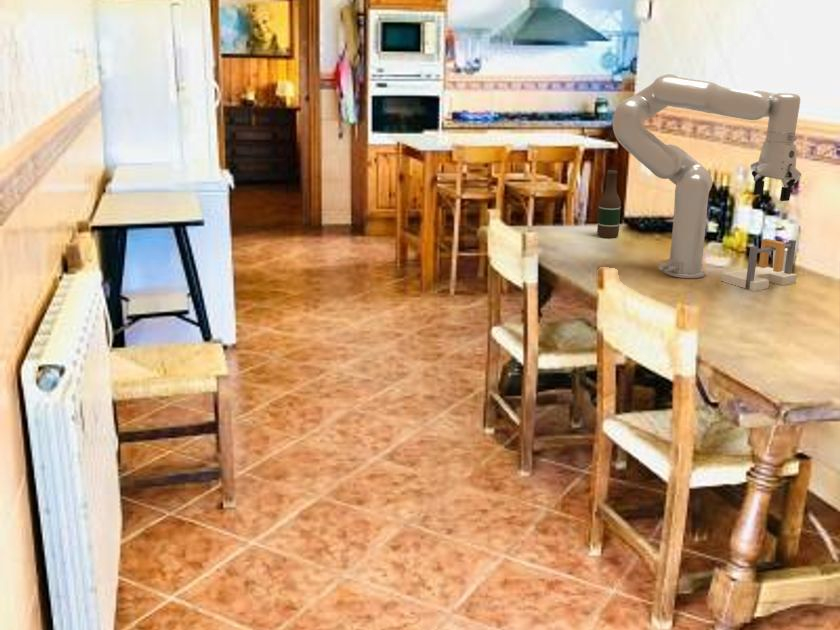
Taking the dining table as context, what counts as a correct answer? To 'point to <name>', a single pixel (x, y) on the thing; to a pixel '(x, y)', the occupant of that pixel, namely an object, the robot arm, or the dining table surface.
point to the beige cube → (784, 258)
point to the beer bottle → (609, 209)
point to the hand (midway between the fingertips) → (771, 197)
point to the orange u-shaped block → (778, 254)
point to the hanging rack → (763, 271)
